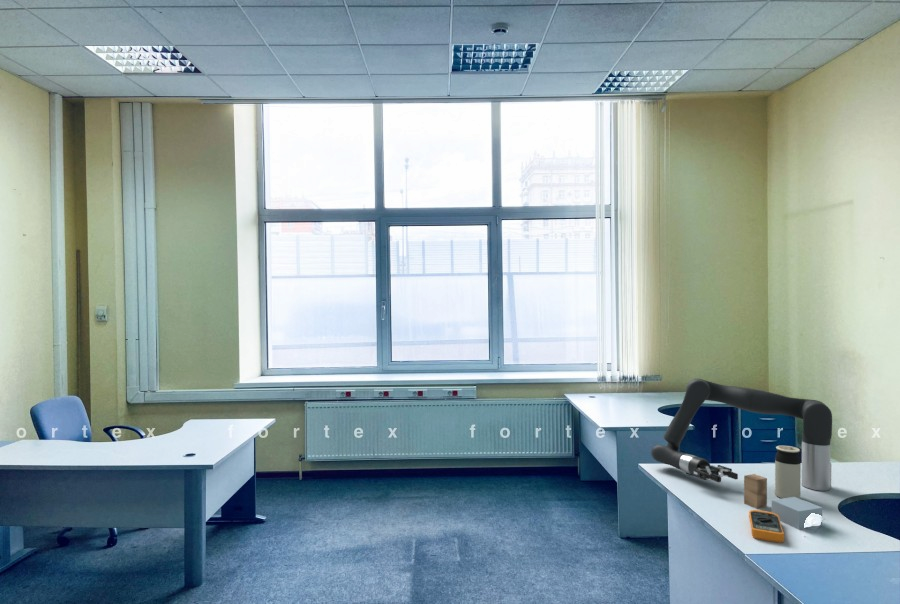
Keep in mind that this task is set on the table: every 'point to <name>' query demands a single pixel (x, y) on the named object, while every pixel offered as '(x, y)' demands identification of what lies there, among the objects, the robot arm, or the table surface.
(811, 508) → the slate box
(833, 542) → the table surface
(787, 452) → the travel mug
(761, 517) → the multimeter
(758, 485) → the walnut block
